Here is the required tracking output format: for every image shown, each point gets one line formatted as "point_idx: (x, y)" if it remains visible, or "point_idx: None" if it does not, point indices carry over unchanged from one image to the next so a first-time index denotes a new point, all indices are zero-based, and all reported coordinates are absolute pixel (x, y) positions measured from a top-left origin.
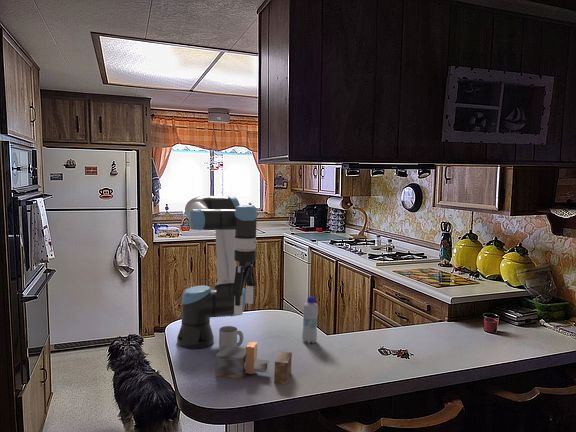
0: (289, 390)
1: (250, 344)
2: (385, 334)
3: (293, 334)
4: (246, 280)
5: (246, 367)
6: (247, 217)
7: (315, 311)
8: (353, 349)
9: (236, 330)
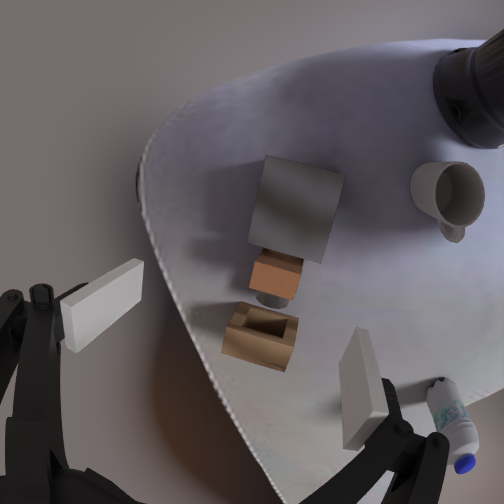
0: (211, 325)
1: (273, 276)
2: None
3: (483, 357)
4: (348, 464)
5: None
6: None
7: None
8: None
9: (448, 224)
